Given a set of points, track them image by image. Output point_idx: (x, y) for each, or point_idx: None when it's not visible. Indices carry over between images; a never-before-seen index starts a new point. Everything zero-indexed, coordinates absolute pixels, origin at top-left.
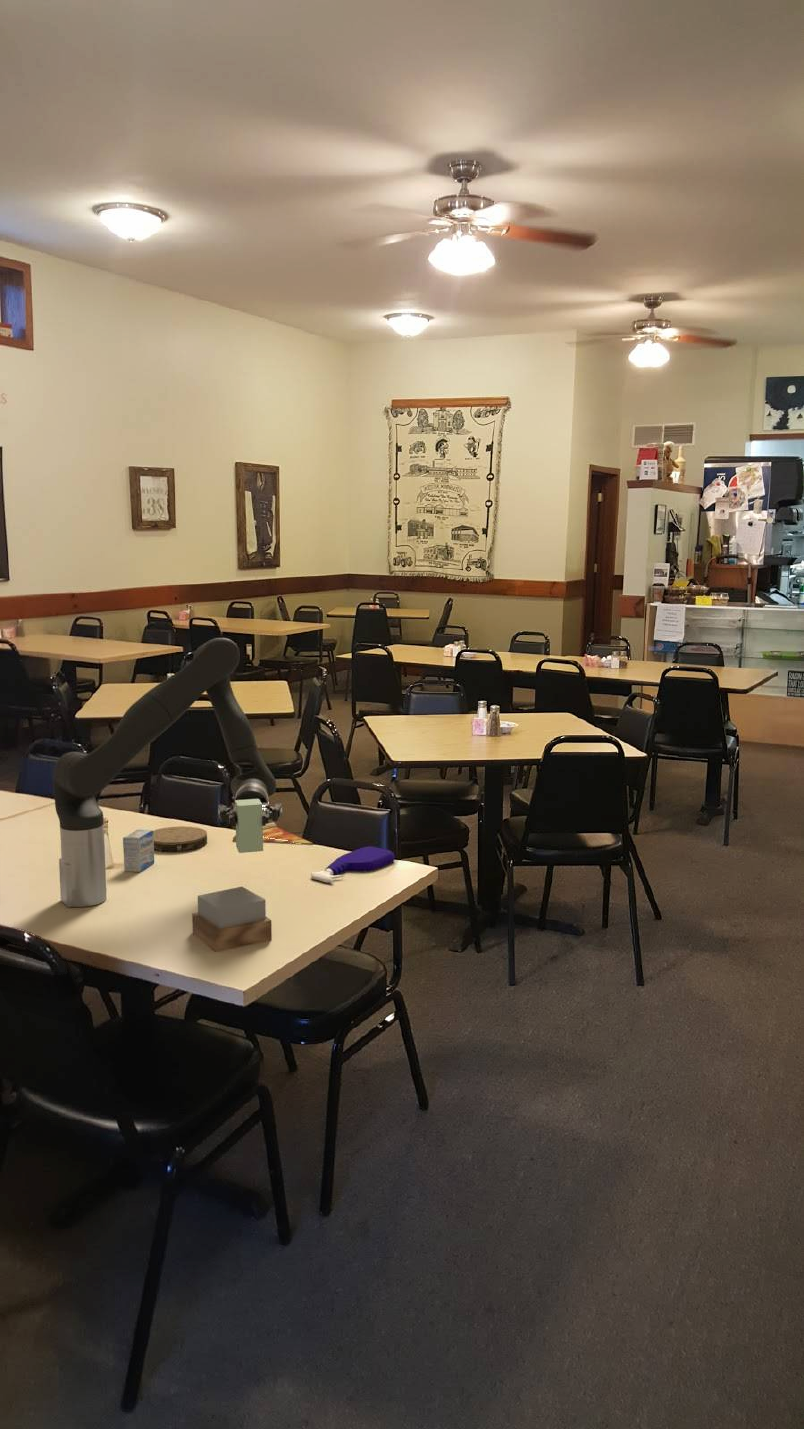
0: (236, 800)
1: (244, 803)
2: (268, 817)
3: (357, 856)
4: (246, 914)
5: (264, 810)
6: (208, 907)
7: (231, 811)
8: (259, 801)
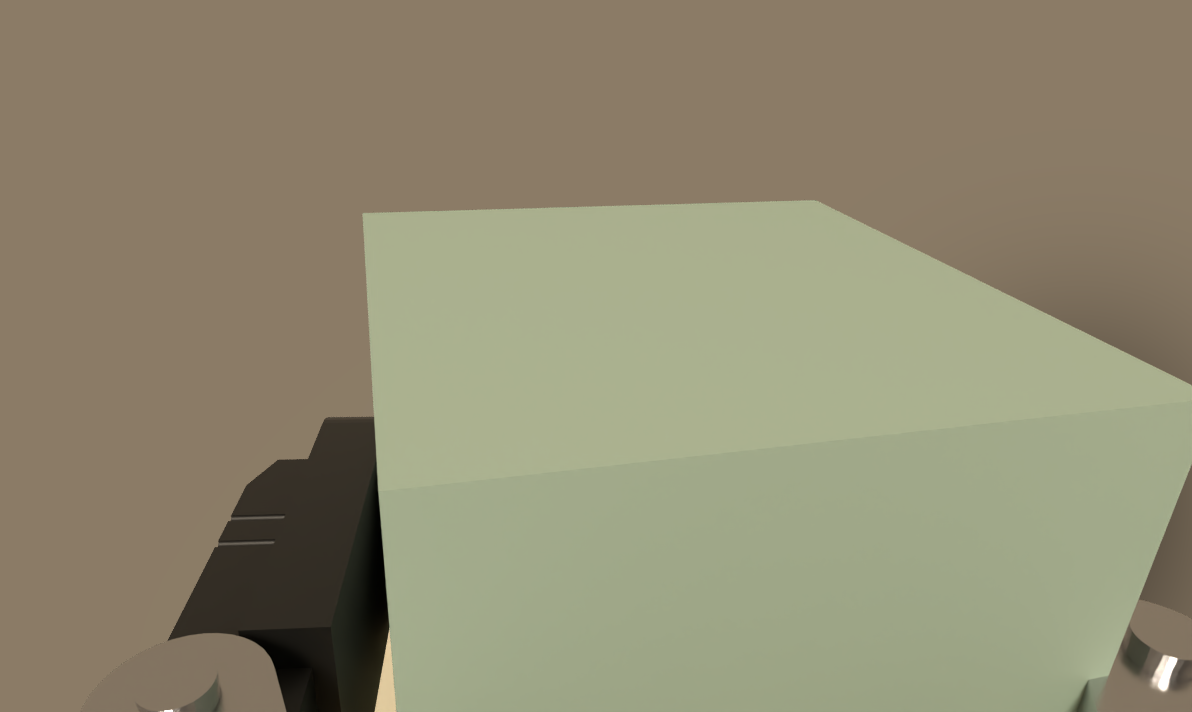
0: (1148, 386)
1: (753, 248)
2: (263, 485)
3: None
4: None
5: (252, 672)
6: None
7: (1155, 621)
8: (396, 300)
